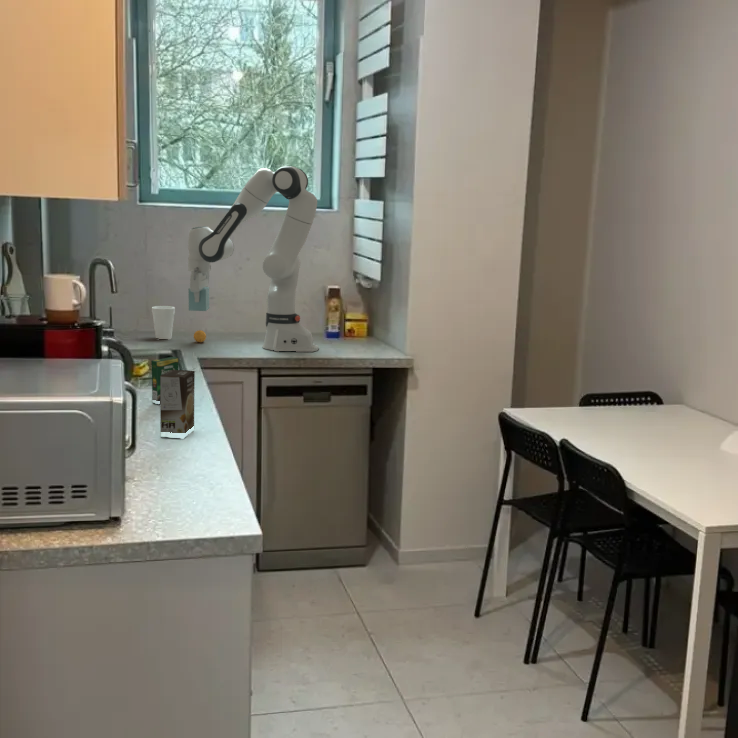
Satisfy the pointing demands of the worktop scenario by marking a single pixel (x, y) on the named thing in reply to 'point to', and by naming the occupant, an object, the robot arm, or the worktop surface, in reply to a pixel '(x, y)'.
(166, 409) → the coffee box
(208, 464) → the worktop surface
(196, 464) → the worktop surface
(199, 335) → the ball
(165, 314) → the foam cup
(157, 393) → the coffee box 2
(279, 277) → the robot arm
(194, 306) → the grey-teal block
